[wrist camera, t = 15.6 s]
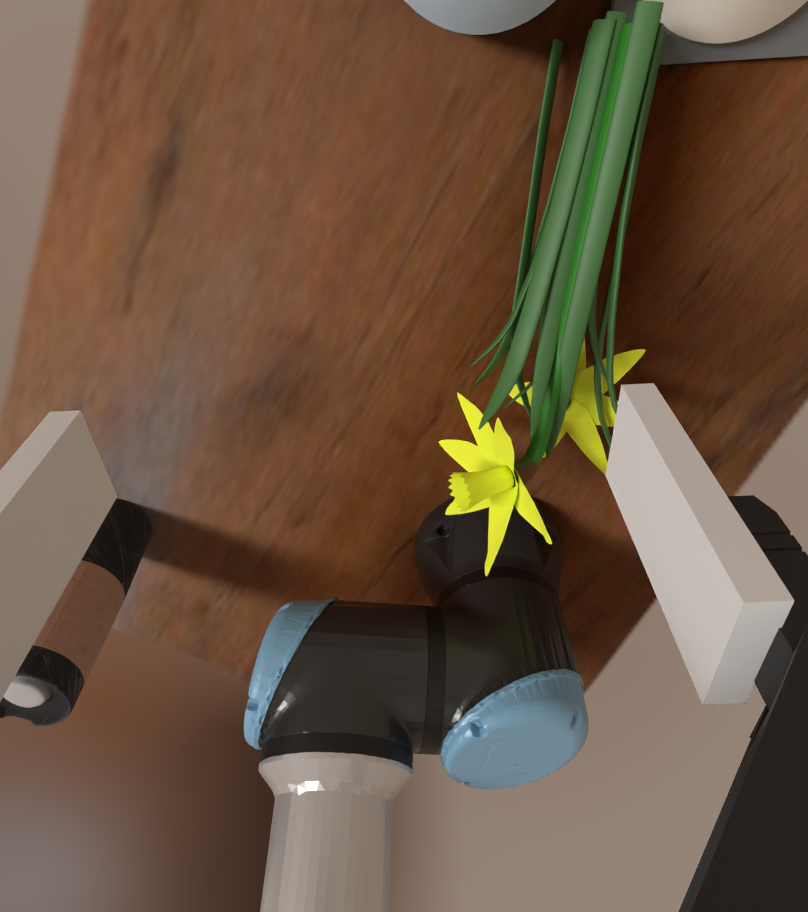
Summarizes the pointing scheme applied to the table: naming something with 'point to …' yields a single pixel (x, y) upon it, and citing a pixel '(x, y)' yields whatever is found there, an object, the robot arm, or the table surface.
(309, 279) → the table surface
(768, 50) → the mat
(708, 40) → the lid
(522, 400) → the daffodil flowers
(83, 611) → the travel mug
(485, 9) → the light blue short cylinder
